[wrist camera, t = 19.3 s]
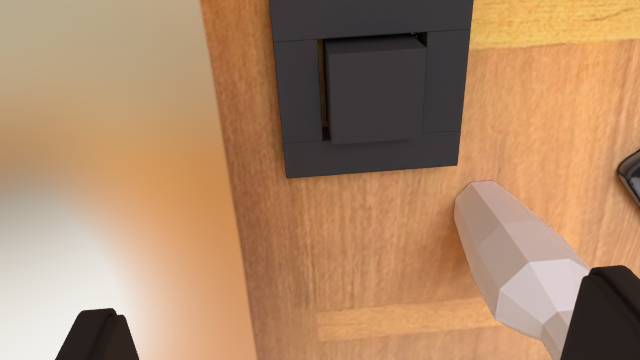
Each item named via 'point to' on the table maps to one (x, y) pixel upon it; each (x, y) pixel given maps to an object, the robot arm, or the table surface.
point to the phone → (631, 176)
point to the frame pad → (366, 20)
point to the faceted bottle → (519, 263)
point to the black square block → (374, 88)
